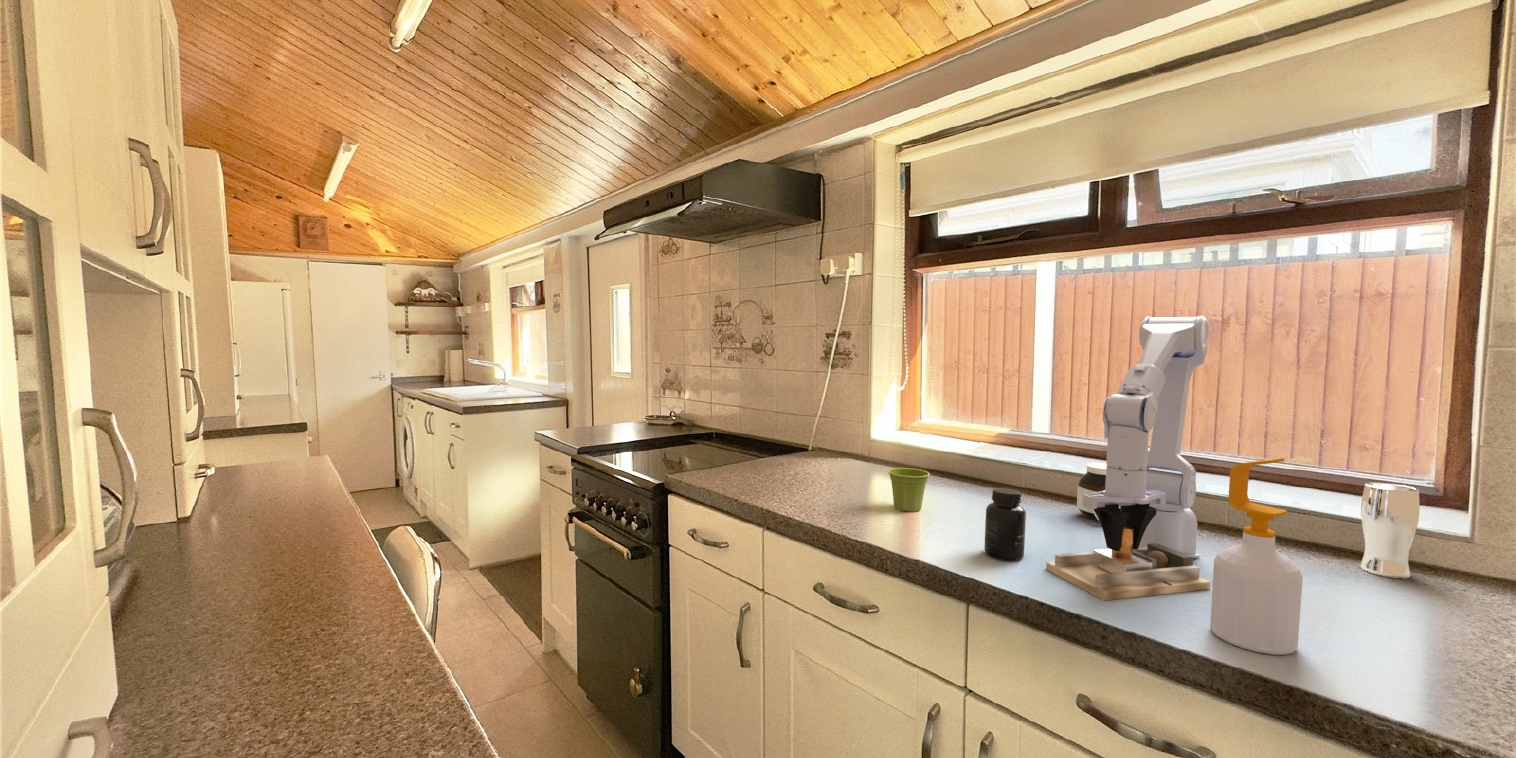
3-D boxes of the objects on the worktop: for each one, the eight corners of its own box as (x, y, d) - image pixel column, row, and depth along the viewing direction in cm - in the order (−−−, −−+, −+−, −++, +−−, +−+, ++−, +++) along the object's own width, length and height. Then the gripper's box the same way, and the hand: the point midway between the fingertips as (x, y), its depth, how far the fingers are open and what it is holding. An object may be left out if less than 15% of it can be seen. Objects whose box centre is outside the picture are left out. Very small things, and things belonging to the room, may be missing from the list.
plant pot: (907, 501, 150) (908, 466, 149) (937, 510, 142) (938, 473, 141) (878, 506, 145) (879, 470, 144) (907, 516, 137) (908, 478, 136)
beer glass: (1401, 568, 108) (1408, 484, 107) (1423, 582, 102) (1430, 493, 101) (1349, 562, 111) (1355, 480, 110) (1367, 575, 105) (1374, 488, 104)
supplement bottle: (1028, 563, 109) (1030, 496, 108) (987, 560, 110) (989, 494, 109) (1019, 550, 116) (1022, 487, 115) (981, 547, 117) (983, 485, 116)
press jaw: (1120, 561, 106) (1123, 519, 106) (1155, 576, 99) (1158, 531, 99) (1092, 563, 105) (1094, 521, 104) (1125, 579, 98) (1127, 534, 98)
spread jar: (1103, 510, 143) (1105, 461, 142) (1149, 524, 133) (1152, 471, 132) (1064, 515, 139) (1066, 464, 138) (1108, 530, 128) (1110, 475, 128)
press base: (1141, 560, 111) (1143, 537, 111) (1209, 589, 98) (1211, 563, 98) (1046, 568, 106) (1047, 545, 106) (1104, 600, 94) (1105, 573, 94)
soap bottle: (1276, 663, 76) (1290, 466, 74) (1195, 631, 84) (1206, 453, 82) (1310, 647, 80) (1324, 460, 78) (1231, 618, 88) (1241, 448, 86)
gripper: (1108, 474, 95) (1104, 560, 96) (1184, 470, 99) (1179, 553, 100) (1074, 465, 102) (1071, 545, 103) (1147, 461, 106) (1143, 539, 107)
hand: (1122, 548), depth 102 cm, fingers closed on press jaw, 3 cm apart
